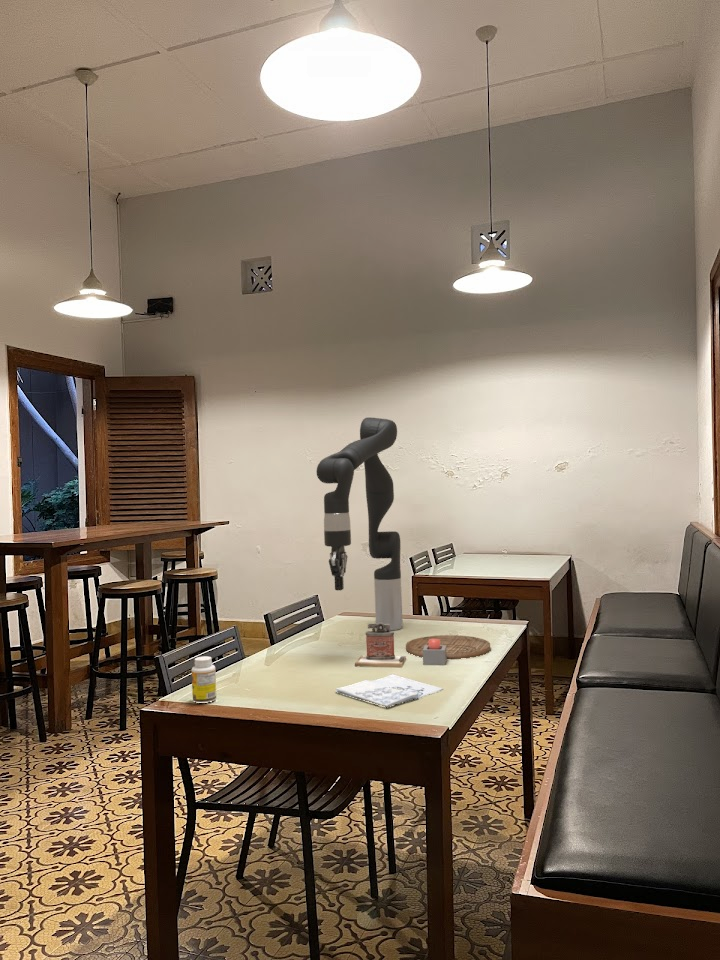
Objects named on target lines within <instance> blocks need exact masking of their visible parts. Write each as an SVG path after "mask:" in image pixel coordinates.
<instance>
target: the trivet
mask: <svg viewBox="0 0 720 960" xmlns="http://www.w3.org/2000/svg"><path fill="white" fill-rule="evenodd" d="M429 639H440V645H446V653H447V659H451V660H462V659H461V658H466V659H471V658H470V657H473V658H477V657H476V656H478V657H481V656H480V655H482V656H483V654H484V655H487V654H488V653H490V652H489V651H491V643H490V642H489V641H488V640H487V639H484V638H480V637H477V636H469V635H458V634H457V635H456V634H455V635H453V634H452V635H451V634H442V635H440V634H439V635H429V636H428V635H427V636H422V637H417V638H414V639H411V640H409V641H407V643H406V644H405V651H406V653H407V652H408V653H407V654H409V653H410V654H409V655H411V654H413V655H415V656H414V657H417V656H419V657H418V658H422V657H423V648H424V646H425V645H429ZM486 653H487V654H486ZM413 655H412V656H413Z"/></svg>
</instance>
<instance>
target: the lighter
mask: <svg viewBox="0 0 720 960" xmlns="http://www.w3.org/2000/svg"><path fill="white" fill-rule="evenodd" d="M376 628H378V629H376ZM385 628H386V630H385ZM389 628H390V624H383V623H382V622H380V623H379V624H376V622H375V623H372V622H370V623H367V629H371V630H368V631H366V632H365V637H366V638H365V639H366V655H365V656H366V659H367V660H393V659H395V656H396V655H395V637H394V635H395V630H389Z"/></svg>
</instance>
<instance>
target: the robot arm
mask: <svg viewBox="0 0 720 960" xmlns="http://www.w3.org/2000/svg"><path fill="white" fill-rule="evenodd" d="M397 426H398V425H397V424H396V422H395V421H393V420H391V419H387V418H379V417H372V416H371V417H365V418H364V419H362V420H361V424H360V426H359V427H360V429H359V439H357V440H354V441H352V442H350V443H348V444H347V445H346V446H344V447H343V448H342V449H341V450H340V451H338V452H335V453H333V454H330V455H328V456H326V457H324V458H323V459H321V460H320V461H319V463H318V465H317V466H316V476H317V479H319V481H320V482H321V483H323V484H337V485H336V488H335V490H332V491H329V492H327V493H325V494H324V496H323V505H324V506H323V509H324V515H323V516H324V517H323V533H324V534H323V535H324V536H323V537H324V539H323V540H324V546H325V547H331V551H330V553H329V559H328V564H329V568H330V572H331V576H333V578H334V590H335V591H343V590H344V585H345V583H344V576H345V574H346V569H347V562H348V554H347V552H346V549H345V547H347V546H350V545H351V544H352V535H351V532H352V531H351V530H352V529H351V517H350V505H349V504H350V502H349V498H350V492H351V490H352V489H351V488H352V484H353V479H354V475H355V471H356V469H358V468H359V467H360V466H361V465H362V464H364V467H363V468H364V477H365V480H364V481H365V495H366V496H365V497H366V507H367V517H368V518H367V519H368V552H369V555H370V557H371V558H372V559H379V560H381V559H390V560H391V561H389V563H388V564H386V565H384V566H381V567H379V568H377V569H375V570H374V573H373V581H374V583H373V584H374V608H375V609H374V611H375V623H376V624H379V623H380V622H382V623H383V624H390V628H389V631H395V630H397V631H398V630H400V629H403V599H402V598H403V597H402V594H403V593H402V575H401V574H402V573H401V572H402V571H401V535H400V533H399V532H398V531H392V530H391V531H379V527H380V524H381V523H382V521H383V519H384V517H385V516H386V514H387V513H388V512H389V510H390V509H391V507H392V505H393V503H394V500H395V493H394V489H395V487H394V481H393V478H392V476H391V474H390V473H389V471H388V470H387V467H385V465H384V464H383V462H382V461H381V459H380V457H379V453H382V452H383V451H385V450H387V449H390V448H391V447H392V446H393V445H395V442H396V440H397V438H398V428H397ZM377 629H378V628H375V630H377ZM385 630H386V628H385ZM386 631H387V630H386Z"/></svg>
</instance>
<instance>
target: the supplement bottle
mask: <svg viewBox="0 0 720 960" xmlns="http://www.w3.org/2000/svg"><path fill="white" fill-rule="evenodd" d="M216 674H217V673H216V666H215V665H214V664H213V661H212V657H211V656H205V655H204V656H198V657H195V658H194V666H193V667H192V668H191V689H192V690H191V691H192V692H191V693H192V702H193V701H195V702H210V701H214V700H215V701H216V699H217V675H216ZM215 701H214V702H215ZM195 702H194V703H195Z"/></svg>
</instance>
